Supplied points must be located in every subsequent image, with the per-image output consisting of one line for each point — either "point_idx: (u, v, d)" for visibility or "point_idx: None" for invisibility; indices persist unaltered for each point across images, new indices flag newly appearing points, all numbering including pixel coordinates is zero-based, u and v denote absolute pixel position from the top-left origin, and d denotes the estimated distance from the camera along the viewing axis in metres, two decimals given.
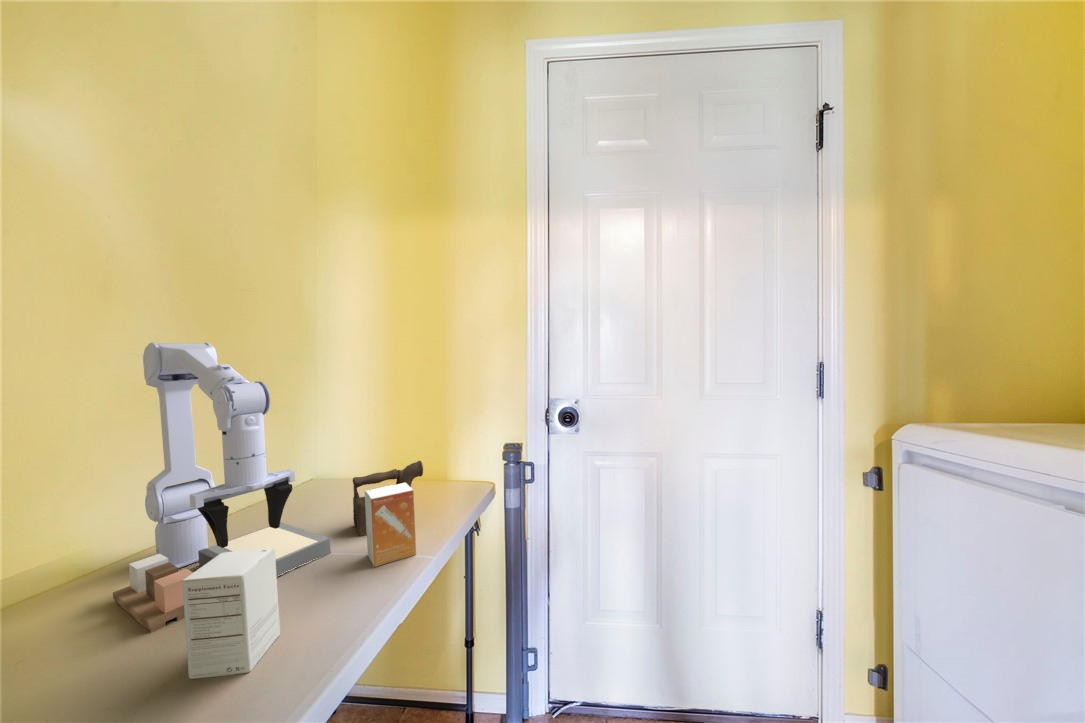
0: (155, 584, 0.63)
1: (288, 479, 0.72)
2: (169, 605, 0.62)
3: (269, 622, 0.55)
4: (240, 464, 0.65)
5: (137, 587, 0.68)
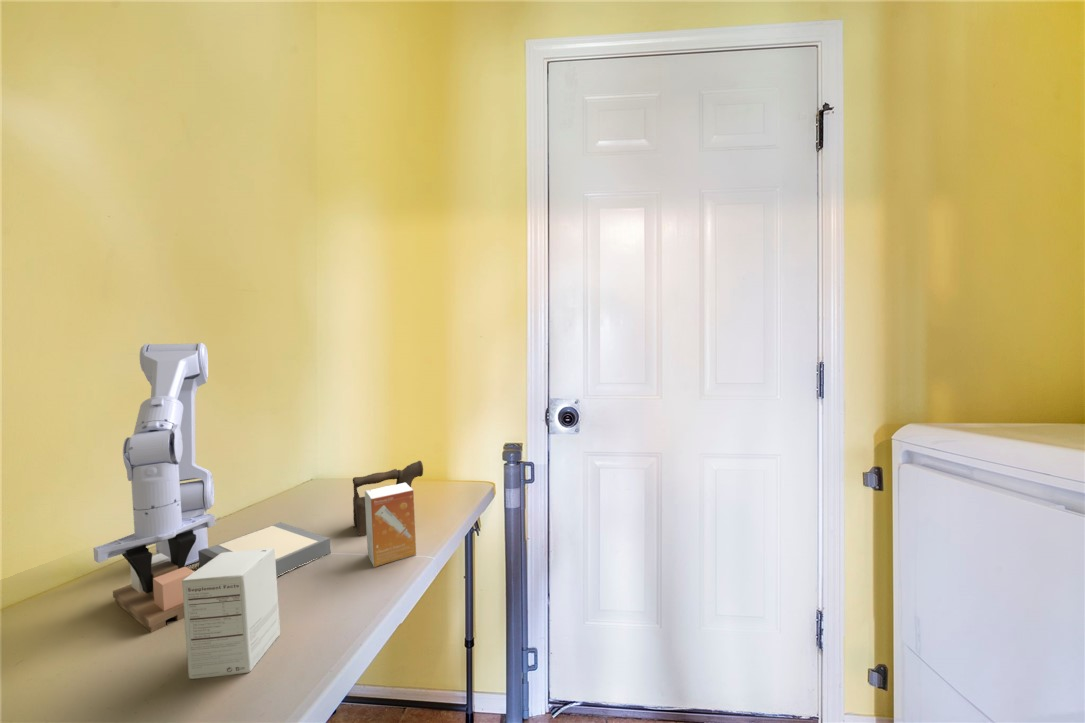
0: (154, 582, 0.63)
1: (207, 524, 0.72)
2: (168, 603, 0.62)
3: (269, 622, 0.55)
4: (149, 514, 0.64)
5: (138, 587, 0.67)
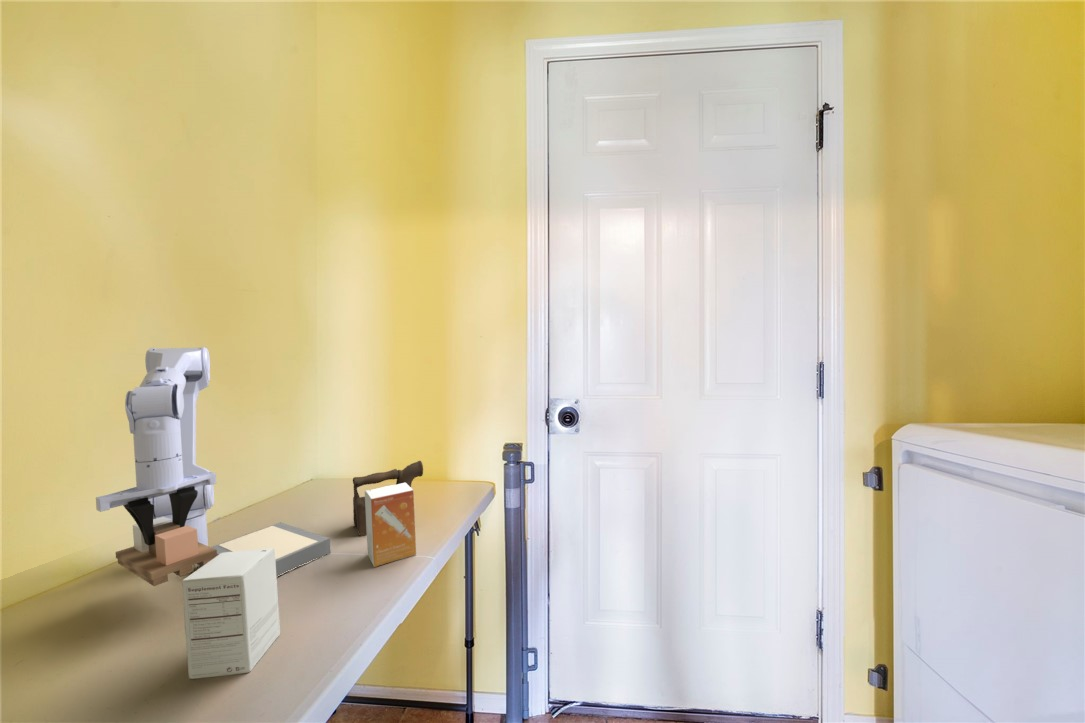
0: (156, 538, 0.64)
1: (208, 482, 0.72)
2: (170, 558, 0.62)
3: (269, 622, 0.55)
4: (150, 466, 0.65)
5: (141, 547, 0.68)
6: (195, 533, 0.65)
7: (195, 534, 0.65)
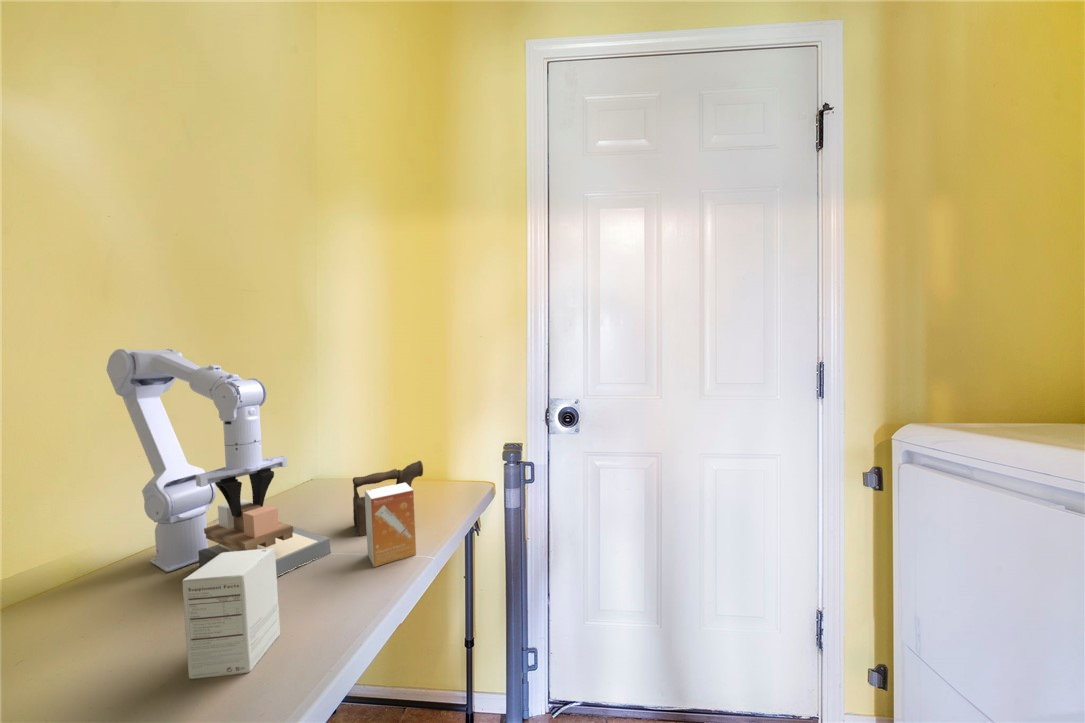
0: (244, 515, 0.74)
1: (281, 464, 0.83)
2: (257, 531, 0.73)
3: (269, 622, 0.55)
4: (239, 449, 0.75)
5: (227, 524, 0.78)
6: (276, 511, 0.76)
7: (276, 512, 0.76)
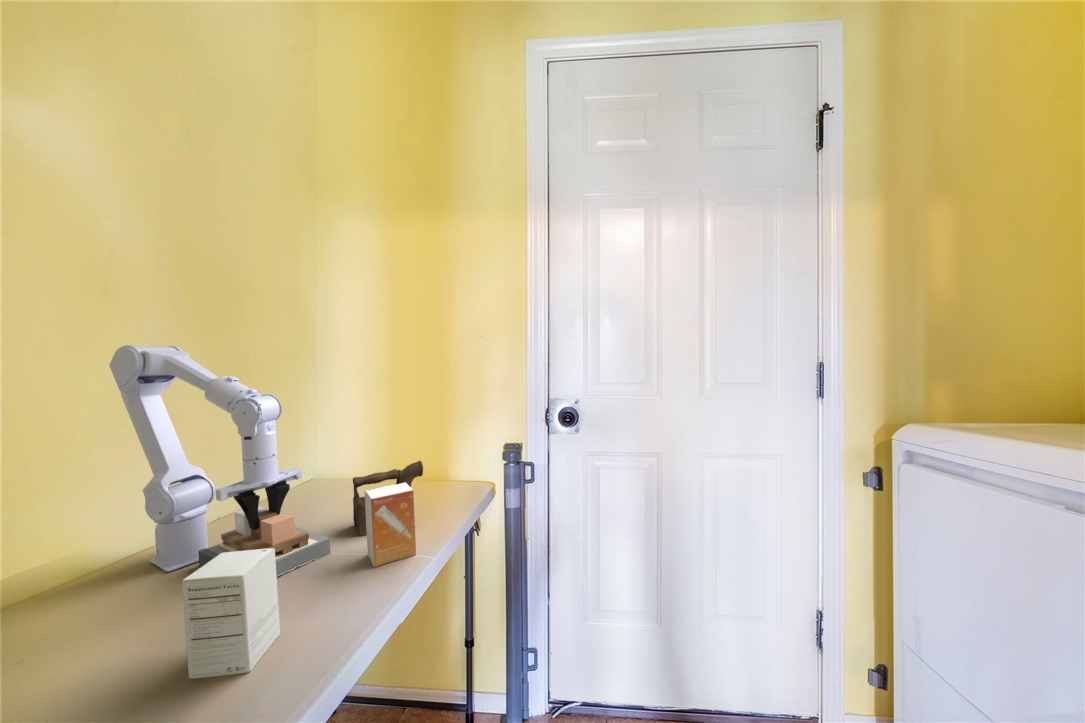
0: (262, 523, 0.77)
1: (296, 477, 0.85)
2: (275, 539, 0.75)
3: (269, 622, 0.55)
4: (256, 464, 0.77)
5: (244, 530, 0.81)
6: (292, 519, 0.78)
7: (292, 520, 0.78)
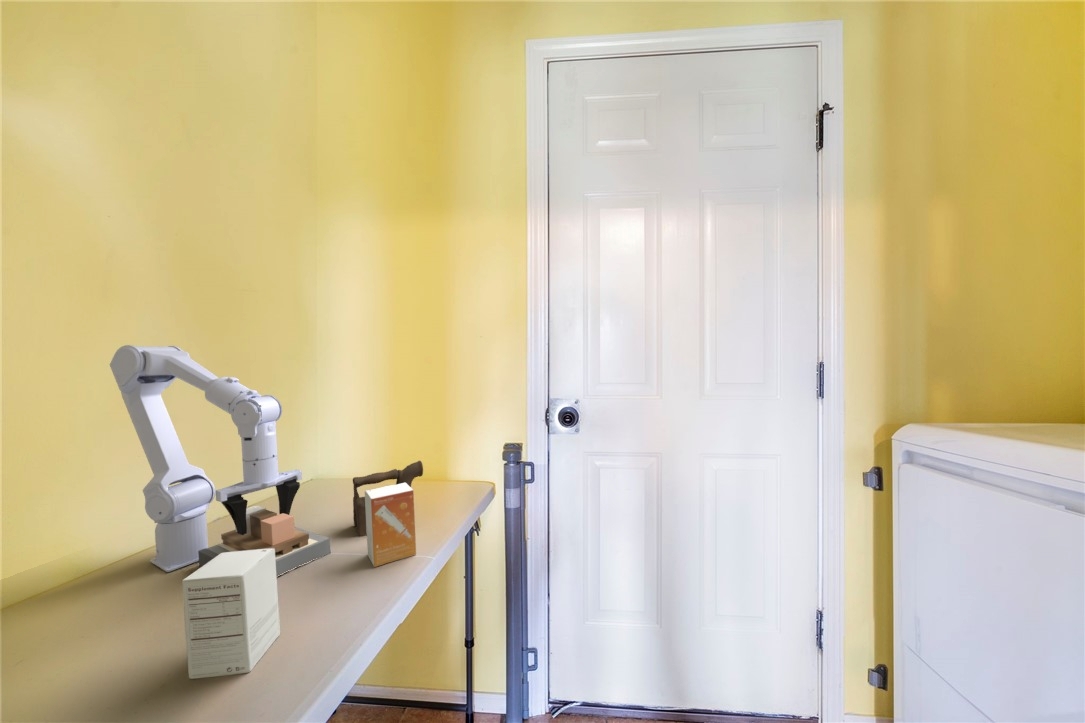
0: (262, 523, 0.77)
1: (296, 478, 0.85)
2: (275, 539, 0.75)
3: (269, 622, 0.55)
4: (256, 465, 0.77)
5: None
6: (292, 519, 0.78)
7: (292, 520, 0.78)
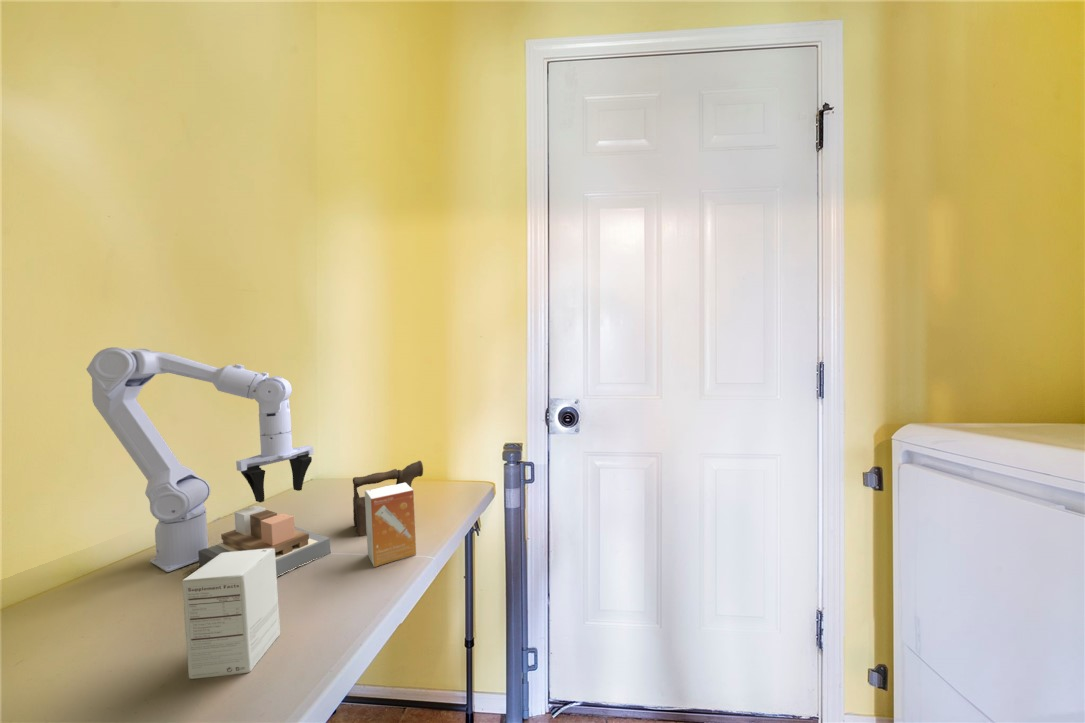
0: (262, 523, 0.77)
1: (308, 453, 0.92)
2: (275, 539, 0.75)
3: (269, 622, 0.55)
4: (273, 438, 0.85)
5: (244, 530, 0.81)
6: (292, 519, 0.78)
7: (292, 520, 0.78)
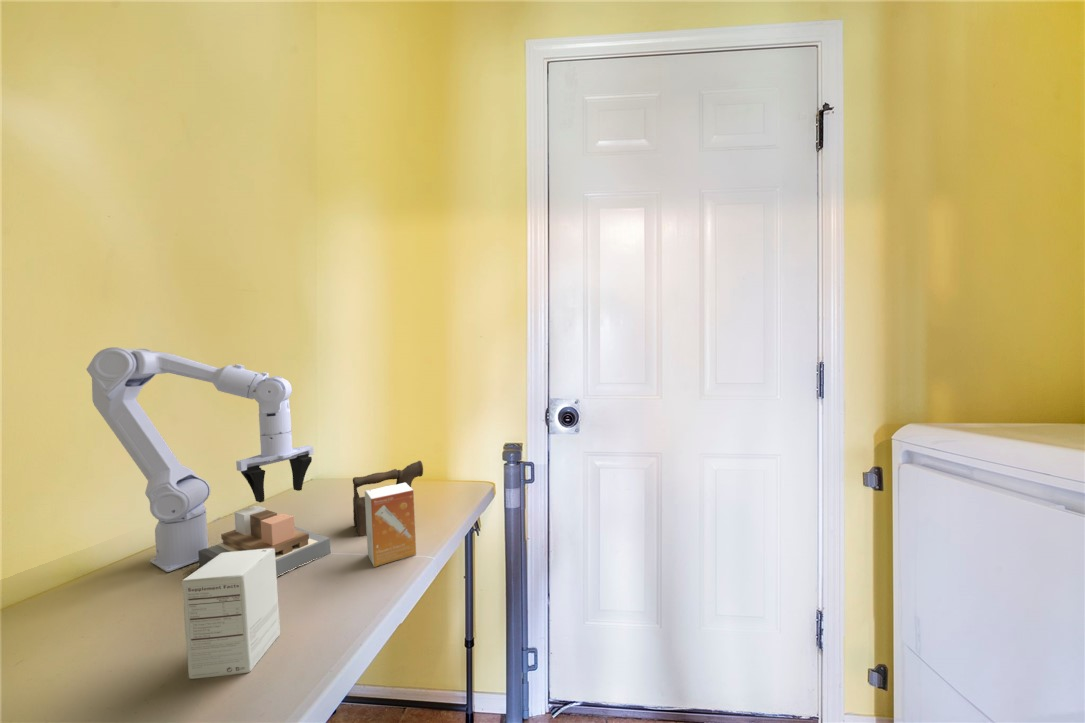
0: (262, 523, 0.77)
1: (308, 453, 0.92)
2: (275, 539, 0.75)
3: (269, 622, 0.55)
4: (273, 438, 0.85)
5: (244, 530, 0.81)
6: (292, 519, 0.78)
7: (292, 520, 0.78)
